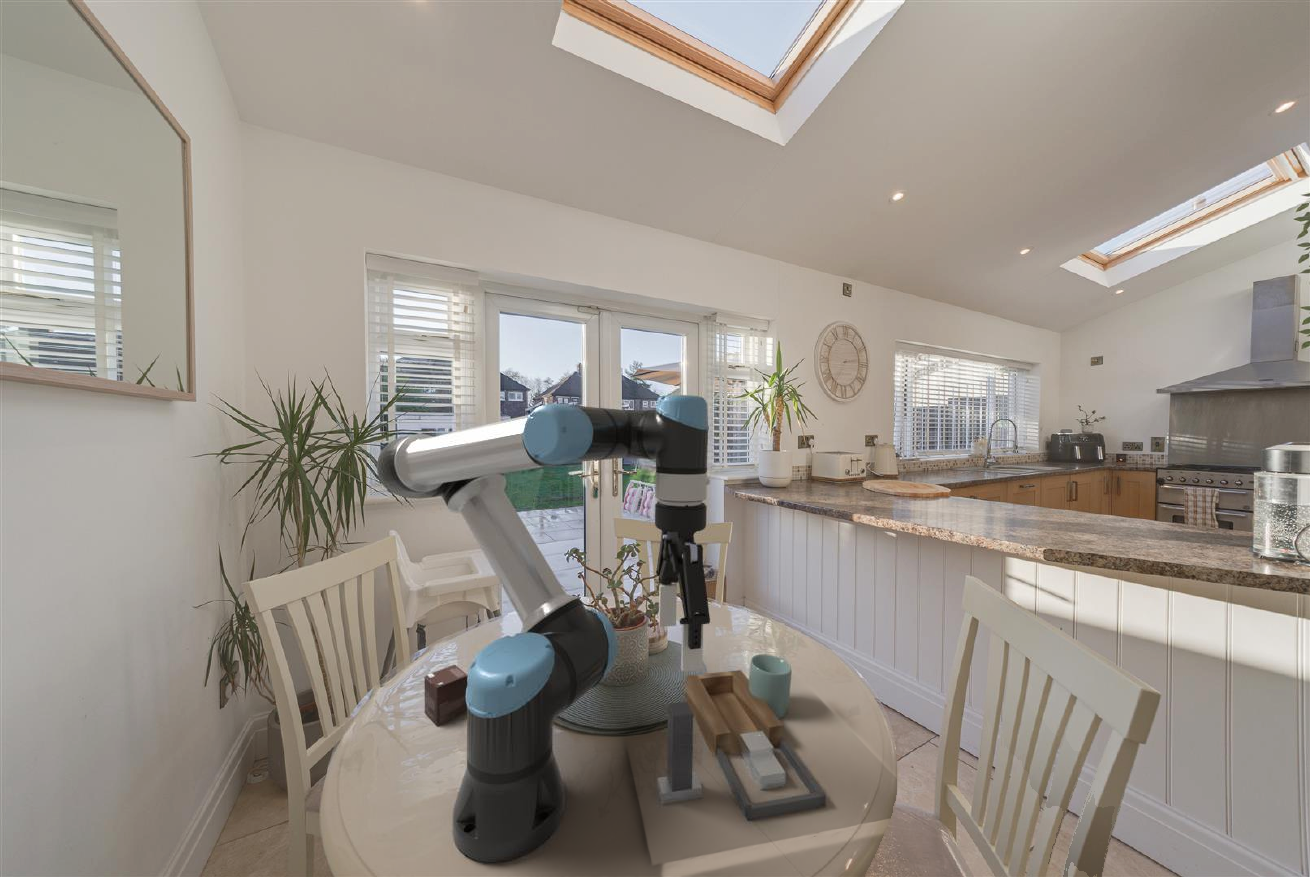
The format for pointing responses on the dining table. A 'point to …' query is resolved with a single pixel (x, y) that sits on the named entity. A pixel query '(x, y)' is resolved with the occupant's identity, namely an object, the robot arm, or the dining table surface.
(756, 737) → the block
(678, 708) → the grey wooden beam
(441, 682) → the box
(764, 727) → the slot board
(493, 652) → the robot arm
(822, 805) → the tray
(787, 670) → the cup
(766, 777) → the chip front
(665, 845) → the dining table surface
